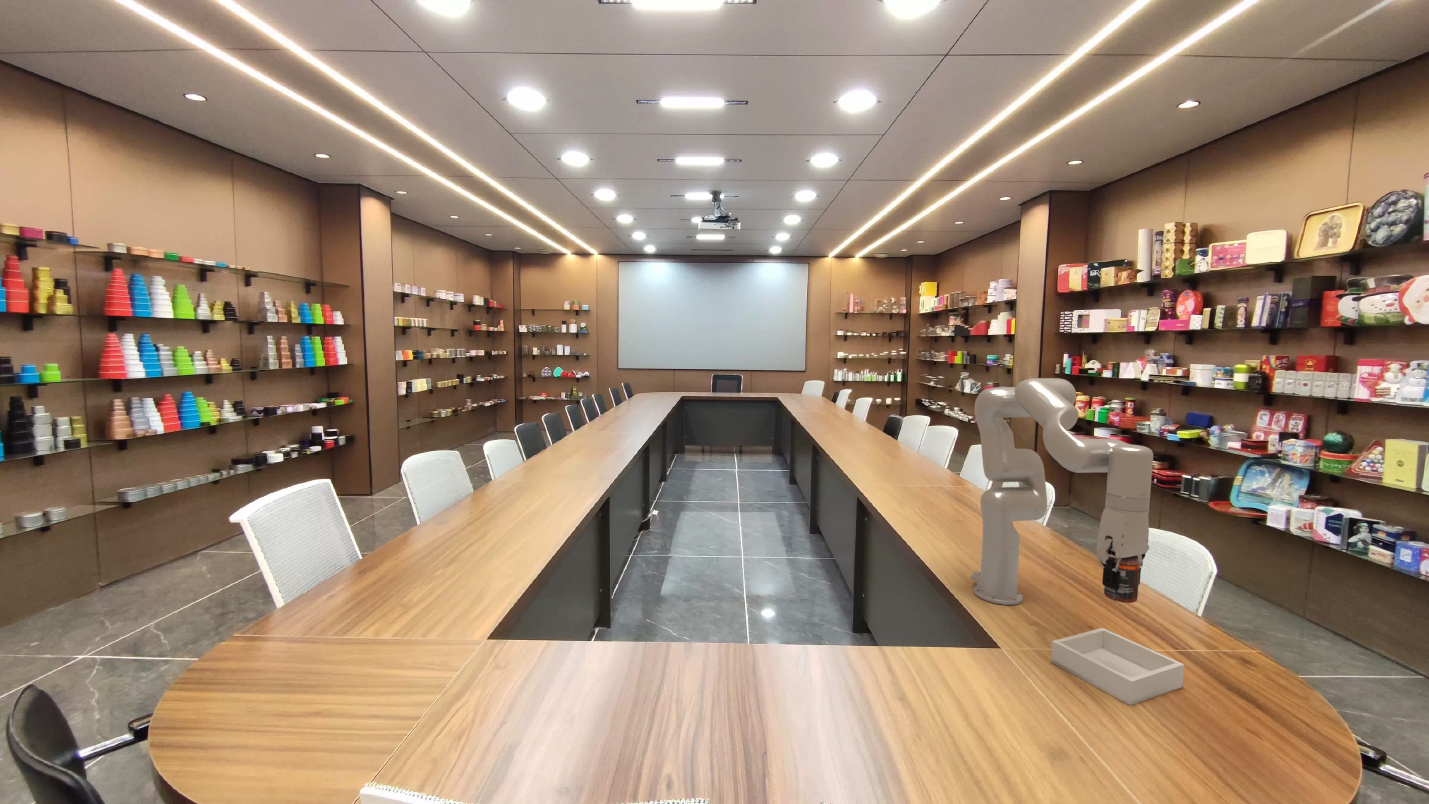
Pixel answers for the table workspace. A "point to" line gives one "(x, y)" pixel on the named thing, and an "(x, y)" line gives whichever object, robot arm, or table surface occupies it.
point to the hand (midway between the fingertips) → (1120, 584)
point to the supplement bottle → (1125, 581)
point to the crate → (1117, 665)
